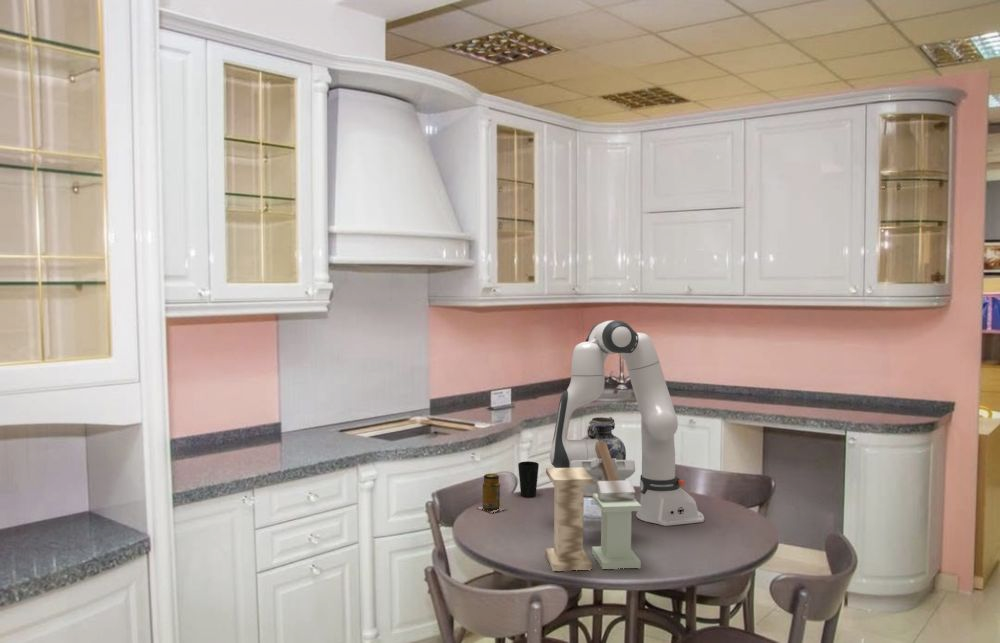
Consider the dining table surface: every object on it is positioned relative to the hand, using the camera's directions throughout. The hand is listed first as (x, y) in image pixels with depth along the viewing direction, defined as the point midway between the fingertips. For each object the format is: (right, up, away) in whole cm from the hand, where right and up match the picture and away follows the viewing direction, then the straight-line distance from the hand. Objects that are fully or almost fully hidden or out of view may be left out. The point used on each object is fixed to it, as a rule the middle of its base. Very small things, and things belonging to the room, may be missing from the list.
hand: (607, 460), depth 236 cm
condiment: (-35, -24, +40) cm, 58 cm away
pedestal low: (+1, -27, -9) cm, 29 cm away
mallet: (0, -4, -1) cm, 4 cm away
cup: (-22, -23, +56) cm, 65 cm away
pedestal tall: (-13, -27, -10) cm, 32 cm away
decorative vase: (+6, -23, +61) cm, 66 cm away
